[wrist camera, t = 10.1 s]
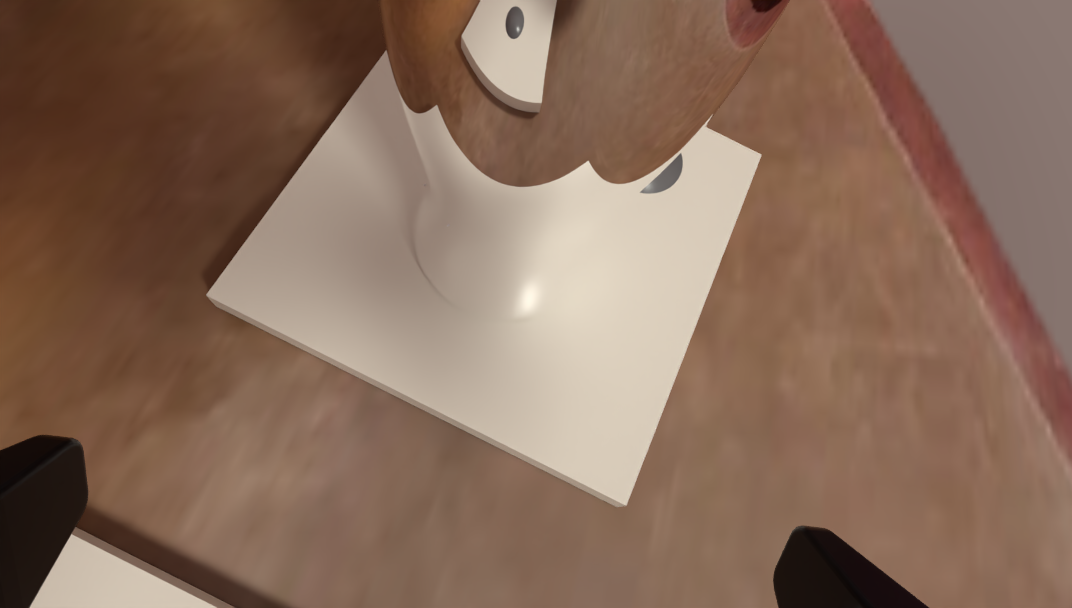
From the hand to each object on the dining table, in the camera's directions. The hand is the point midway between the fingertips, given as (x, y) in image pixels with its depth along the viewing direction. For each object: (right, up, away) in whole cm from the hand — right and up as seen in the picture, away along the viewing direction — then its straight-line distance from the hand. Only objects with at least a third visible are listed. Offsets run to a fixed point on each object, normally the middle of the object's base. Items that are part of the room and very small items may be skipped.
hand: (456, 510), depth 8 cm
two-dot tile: (0, +5, +14) cm, 15 cm away
